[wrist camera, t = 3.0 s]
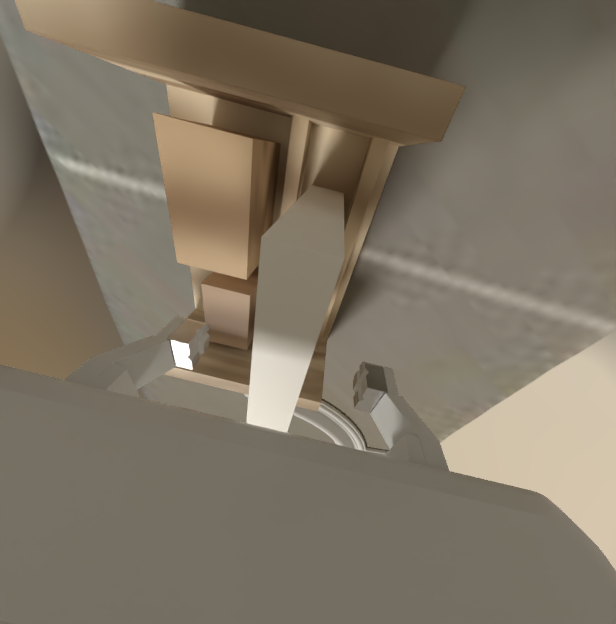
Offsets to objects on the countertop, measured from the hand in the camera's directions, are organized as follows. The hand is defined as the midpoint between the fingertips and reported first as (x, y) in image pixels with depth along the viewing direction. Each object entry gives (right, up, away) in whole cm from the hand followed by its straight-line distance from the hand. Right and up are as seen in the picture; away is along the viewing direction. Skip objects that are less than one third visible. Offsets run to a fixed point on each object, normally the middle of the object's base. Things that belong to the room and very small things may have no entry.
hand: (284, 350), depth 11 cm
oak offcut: (-4, +11, +6) cm, 14 cm away
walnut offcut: (-5, +4, +12) cm, 14 cm away
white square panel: (+2, +7, +9) cm, 11 cm away
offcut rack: (-2, +9, +10) cm, 13 cm away
